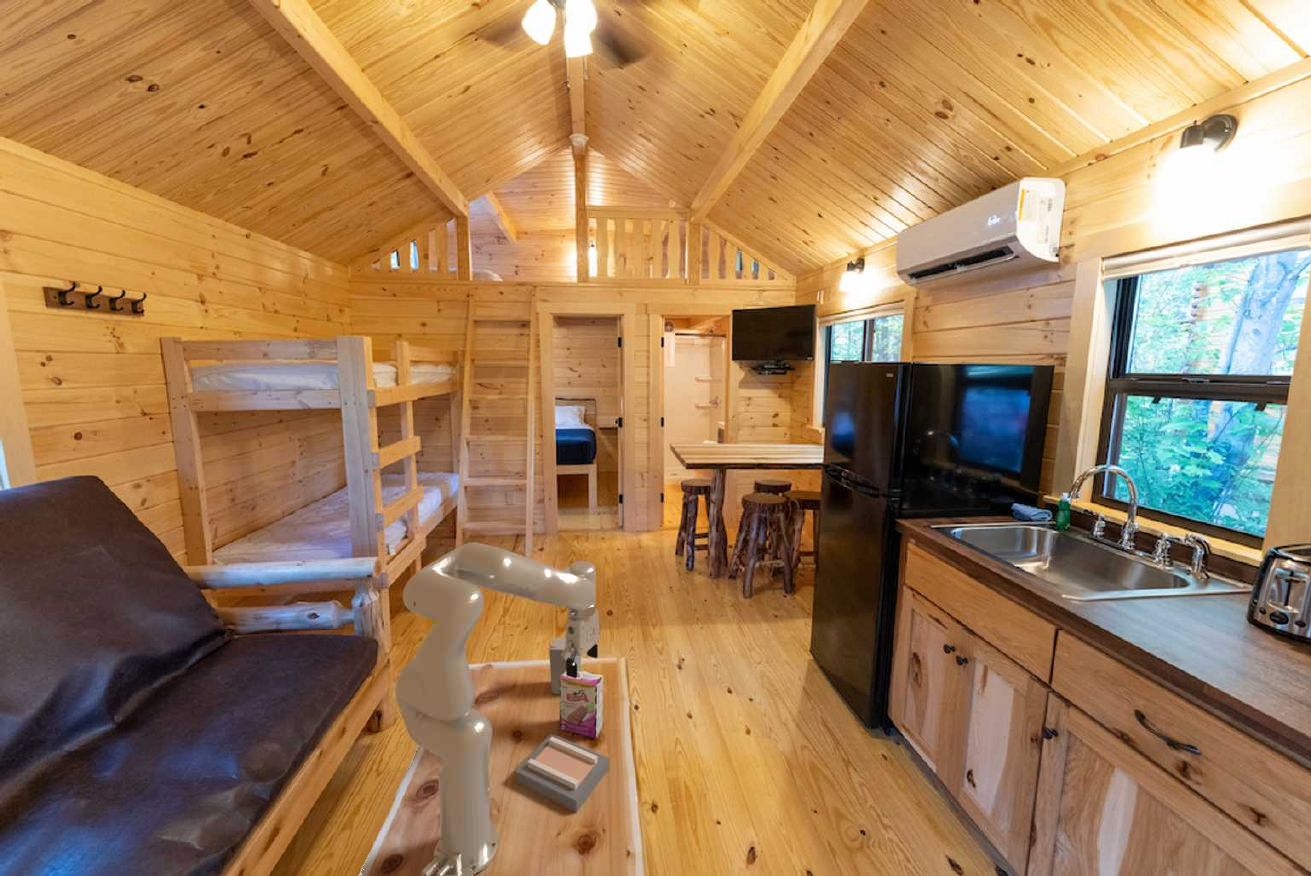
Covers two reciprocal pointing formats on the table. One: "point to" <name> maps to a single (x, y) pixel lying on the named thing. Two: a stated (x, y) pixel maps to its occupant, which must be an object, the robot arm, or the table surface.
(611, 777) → the table surface
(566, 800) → the display plinth
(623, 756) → the table surface
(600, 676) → the candy bar box
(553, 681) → the skincare box
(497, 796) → the table surface
